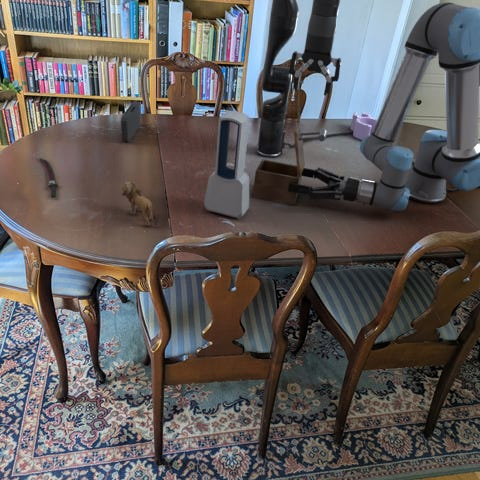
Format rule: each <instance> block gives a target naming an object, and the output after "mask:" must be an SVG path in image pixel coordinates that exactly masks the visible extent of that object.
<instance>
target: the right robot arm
mask: <svg viewBox="0 0 480 480" xmlns="http://www.w3.org/2000/svg"><path fill="white" fill-rule="evenodd" d="M403 48H404V51H405V53H404V55H403V58H402V59H401V62H400V64H399V68H398V70H397V71H396V74H395V76H394V79H393V81H392V83H391V85H390V88H389V91H388V93H387V95H386V98H385V101H384V102H383V105H382V108H381V110H380V113H379V114H378V117H377V118H376V119H377V122H376V124H375V127H374V129H373V131H372V134H370V135H368V136H366V137H365V138H364V139H363V140H361V142H360V145H359V151H360V153H361V154H362V155H363V157H364V158H365V159H366V160H367V161H369V162H370V163H372V164H373V165H374V167H376V168H377V169H378V170H379V171H381V172H382V173H381V176H380V180H379V182H377V181H375V180H367V179H361V180H360V179H359V178H356V177H351V176H348V177H347V179H346V180H345V175H341V174H338V173H335V172H332V171H329V170H327V169H324V168H322V167H317V168H315V169H312V168H308V167H304V169H303V172H302V177H305V178H310V179H317V180H319V181H321V182H322V183H324V184H326V185H323V186H316V187H313V186H312V185H304V184H301V183H300V184H295V183H289V187H288V191H289V192H294V193H298V195H299V194H300V195H305V196H308V198H309V200H310V201H324V200H325V201H326V200H327V201H328V200H330V201H331V200H334V201H341V199H342V200H343V201H345V202H351V203H354V202H356V203H357V204H362V206H365V205H367V206H368V205H369V206H373V207H377V208H382V209H387V210H389V211H400V212H402V211H404V210H405V209H406V208H407V206H408V204H409V199H411V200H413V201H416V202H419V203H424V204H431V205H432V204H433V205H435V204H436V205H437V204H441V203H443V202H444V201H445V199H446V196H447V191H449V192H455V191H457V190H459V191H463V192H468V191H472V190H475V189H477V188H480V139H479V114H480V113H479V111H480V110H479V109H480V107H479V106H480V8H478V7H472V6H470V7H469V6H465V5H461V4H457V3H453V2H440V3H438V4H434V5H432V6H430V8H427V10H426V11H425V12H424V13H423V14H422V15H421V16H420V17H419V18H418V20H417V21H416V22H415V24H414V25H413V27H412V29H411V30H410V32H409V35H408V37H407V39H406V41H405V43H404V45H403ZM437 57H438V58H437ZM435 58H437V59H438V67H439V68H440V69H442V70H443V71H444V80H445V81H444V86H445V87H444V88H445V89H444V90H445V120H446V121H445V122H446V126H445V127H446V130H445V129H443V130H442V129H429V130H427V131H425V132H424V133H423V135H422V137H421V140H420V141H419V146H418V149H417V153H416V155H415V154H414V151H412V149H411V148H408V147H406V146H402V145H401V146H400V145H394V143H395V140H396V138H397V136H398V134H399V131H400V129H401V127H402V125H403V122H404V121H405V118H406V116H407V114H408V112H409V109H410V107H411V105H412V102H413V100H414V98H415V96H416V94H417V91H418V89H419V87H420V85H421V82H422V80H423V78H424V76H425V74H426V72H427V69H428V67H429V65H430V63H431V61H432V60H434V59H435ZM393 145H394V146H393ZM414 156H415V157H414ZM413 158H415V162H414V163H412V161H413ZM411 168H412V169H411ZM447 183H448V184H449V185H451V186H452V187H453V188H449V187H447Z"/></svg>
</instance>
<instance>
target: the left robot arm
mask: <svg viewBox="0 0 480 480" xmlns="http://www.w3.org/2000/svg"><path fill="white" fill-rule="evenodd" d="M340 4H341V0H312V7H311V12H310V15H309V16H310V17H309V20H308V23H307V31H306V37H305V44H304V50H303V53H302V52H301V53H300V52H299V51H297V50H294V51H293V53H292V54H291V58H290V59H291V60H290V64H289V67H290V68H289V67H288V66H279V65H274V64H275V61H276V59H277V57H278V55H279V54H280V52H281V51H282V49H283V48H284V47H285V46H286V45H287V44H288V42H289V41H290V40H291V39H292V38H293V36H294V34H295V33H296V31H297V25H298V20H299V19H298V18H299V13H300V11H299V5H298V2H297V0H272V2H271V7H270V15H269V25H268V35H267V44H266V51H265V57H264V62H263V67H262V73H261V79H260V80H261V83H260V84H261V85H260V87H261V90H262V92H266V93H274V94H278V95H276V96H275V97H272V98H269V99H266V100H264V101H263V102H262V105H261V114H260V123H259V131H258V138H257V139H258V140H257V143H256V153H257V154H258V155H259V156H262V157H264V158H265V157H266V158H277V157H279V156H281V155H282V154H283V150H284V149H285V147H286V146H288V147H289V148H295V144H291V143H290V142H285V136H286V130H284V128H285V122H286V120H285V119H286V117H287V116H286V115H287V114H286V109H287V105H288V102H289V97H290V96H289V95H290V90H291V85H292V89H293V88H295V89H294V92H295V91H296V92H298V86H299V81H301V79H300V75H301V76H302V74H303V73H304V72H305V71H306V70H307V71H308V72H316V73H321V72H322V74H323V76H324V77H325V79H326V82H325V86H324V92H323V96H327V95H329V93H330V92H331V86H332V83H333V82H338V81H339V79H340V73H341V65H342V58H341V57H337V58H335V57H332V52H333V46H334V41H335V35H336V32H337V25H338V24H337V23H338V22H337V21H338V16H339V15H338V14H339V9H340ZM300 59H301V60H302V61H303V66H302V65H301V67H299V68H300V69H299V70H294V69H295V67H296V64H297V62H298V61H300ZM331 63H332V65H333V67H335V70H334V75H333V76H332V74H331V72H330V69H329V68H328V66H329V65H330V64H331ZM293 80H294V83H292V82H293ZM285 116H286V117H285ZM353 132H354V131H347V132H337V133H330V134H328V133H327V134H326V137H325V138H329V137H335V136H336V137H337V136H345V135H353ZM309 141H310V140H303V143H305V142H309Z"/></svg>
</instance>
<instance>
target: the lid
mask: <svg viewBox="0 0 480 480" xmlns="http://www.w3.org/2000/svg"><path fill="white" fill-rule="evenodd" d="M302 128H303V127H302V121H300V122H298V124H297V123H296V126H295V129H294V131H293V139H294V140H293V141H294V145H295V147H294V151H295V152H294V153H295V161H296V166H297V173H298V177H301V175H302V172H303V169H304V168H305V166H306V163H305V151H304V142H303V140H309V141H314V140H318V141H319V142H324V141H325V140H326V138H327V137H326V135H328V131H327V130H326V129H325V128H322V129H320V131H309V132H303V129H302ZM315 135H316V136H315ZM317 135H318V136H317ZM301 178H302V177H301Z"/></svg>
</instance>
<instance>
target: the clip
mask: <svg viewBox="0 0 480 480" xmlns="http://www.w3.org/2000/svg"><path fill="white" fill-rule="evenodd" d="M358 114H359V113H358V112H353V114H352V118H351V122H350V126H349V129H350V130H351V131H352V132H353V134H352V136H353V137H354V138H356V139H358V140H361V141H362V140H363V139H364V138H365V137H366V136H368V135H371V134H372V131H373V129H374V127H375V124H376V122H377V119H378V118H374V117H372V115H371V114H369V113H366V112H361V115H358Z"/></svg>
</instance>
